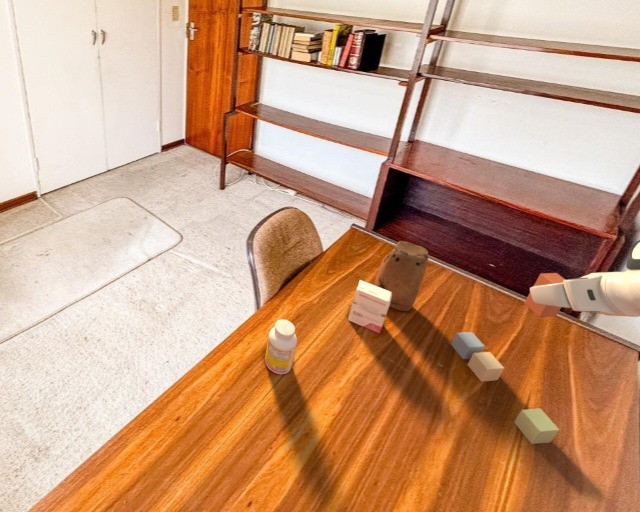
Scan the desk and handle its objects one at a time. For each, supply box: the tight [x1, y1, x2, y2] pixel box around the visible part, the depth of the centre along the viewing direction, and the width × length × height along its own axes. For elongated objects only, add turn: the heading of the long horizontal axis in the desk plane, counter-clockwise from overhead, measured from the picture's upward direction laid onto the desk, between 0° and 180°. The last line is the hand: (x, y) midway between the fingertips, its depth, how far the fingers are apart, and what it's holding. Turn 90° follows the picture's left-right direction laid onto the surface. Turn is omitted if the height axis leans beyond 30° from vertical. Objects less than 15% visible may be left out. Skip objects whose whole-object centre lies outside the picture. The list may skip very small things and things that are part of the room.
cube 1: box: [513, 407, 560, 445], centre depth 85 cm, size 4×4×4 cm
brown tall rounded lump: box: [373, 240, 429, 312], centre depth 115 cm, size 11×8×20 cm
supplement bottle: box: [264, 319, 298, 375], centre depth 96 cm, size 7×7×13 cm
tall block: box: [523, 272, 566, 318], centre depth 98 cm, size 4×4×10 cm
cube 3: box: [450, 331, 486, 360], centre depth 103 cm, size 4×4×4 cm
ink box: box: [347, 279, 392, 334], centre depth 109 cm, size 9×5×12 cm, turn 58°
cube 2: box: [467, 351, 505, 382], centre depth 98 cm, size 4×4×4 cm
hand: (548, 293), depth 98 cm, fingers closed on tall block, 4 cm apart
